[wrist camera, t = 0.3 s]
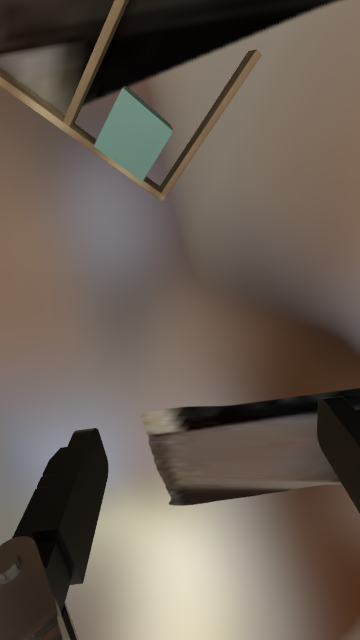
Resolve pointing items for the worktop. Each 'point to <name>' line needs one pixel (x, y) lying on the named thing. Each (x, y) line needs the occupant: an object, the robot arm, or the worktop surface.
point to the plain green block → (133, 134)
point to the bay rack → (86, 81)
